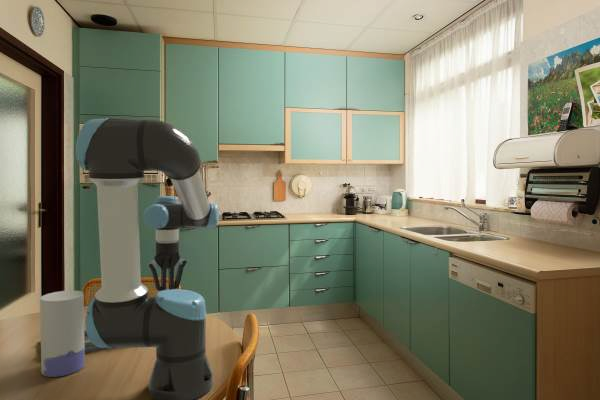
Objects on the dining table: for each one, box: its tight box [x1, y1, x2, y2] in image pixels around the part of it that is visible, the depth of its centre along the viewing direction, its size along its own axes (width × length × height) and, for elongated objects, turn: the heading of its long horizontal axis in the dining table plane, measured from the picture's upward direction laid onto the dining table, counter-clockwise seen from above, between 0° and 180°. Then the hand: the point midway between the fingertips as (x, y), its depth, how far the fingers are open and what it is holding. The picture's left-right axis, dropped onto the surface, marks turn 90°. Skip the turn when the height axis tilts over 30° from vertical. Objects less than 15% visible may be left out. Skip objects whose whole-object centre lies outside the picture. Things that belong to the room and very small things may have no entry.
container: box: [39, 290, 86, 378], centre depth 107 cm, size 10×10×20 cm
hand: (167, 309), depth 137 cm, fingers closed
